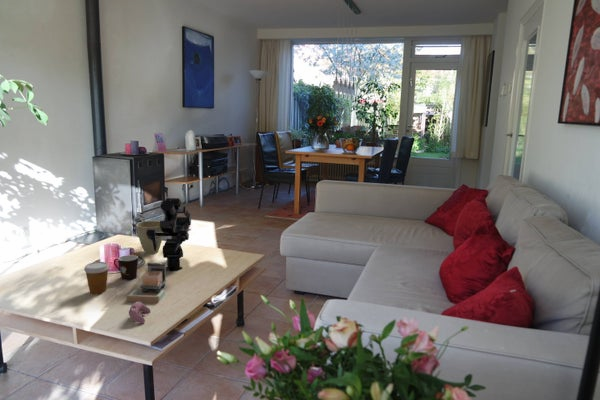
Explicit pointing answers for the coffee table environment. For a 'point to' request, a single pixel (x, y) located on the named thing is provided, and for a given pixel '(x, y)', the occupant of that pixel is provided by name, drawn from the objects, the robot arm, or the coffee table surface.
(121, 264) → the coffee mug
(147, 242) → the plant pot
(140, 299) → the dock bay
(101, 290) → the disposable coffee cup
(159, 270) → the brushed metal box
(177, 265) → the robot arm
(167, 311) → the coffee table surface
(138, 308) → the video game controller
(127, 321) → the coffee table surface
